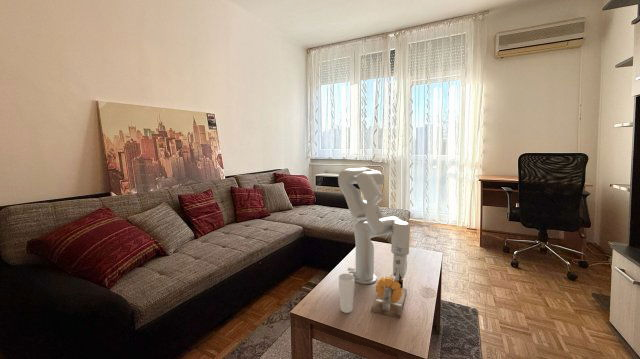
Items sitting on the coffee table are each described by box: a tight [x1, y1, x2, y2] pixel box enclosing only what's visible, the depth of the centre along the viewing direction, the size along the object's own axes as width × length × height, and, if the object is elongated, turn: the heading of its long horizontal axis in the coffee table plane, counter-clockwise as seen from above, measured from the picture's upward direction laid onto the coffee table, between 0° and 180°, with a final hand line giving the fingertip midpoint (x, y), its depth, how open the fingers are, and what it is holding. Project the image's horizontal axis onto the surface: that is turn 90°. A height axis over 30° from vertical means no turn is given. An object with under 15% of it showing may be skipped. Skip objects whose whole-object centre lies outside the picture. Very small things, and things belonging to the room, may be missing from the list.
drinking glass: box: [338, 273, 356, 314], centre depth 119 cm, size 7×7×15 cm
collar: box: [375, 276, 402, 304], centre depth 121 cm, size 11×2×11 cm, turn 66°
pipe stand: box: [370, 272, 407, 319], centre depth 125 cm, size 12×22×9 cm, turn 156°
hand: (398, 288), depth 125 cm, fingers closed
